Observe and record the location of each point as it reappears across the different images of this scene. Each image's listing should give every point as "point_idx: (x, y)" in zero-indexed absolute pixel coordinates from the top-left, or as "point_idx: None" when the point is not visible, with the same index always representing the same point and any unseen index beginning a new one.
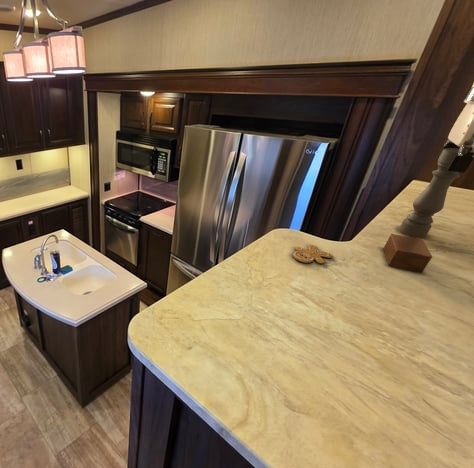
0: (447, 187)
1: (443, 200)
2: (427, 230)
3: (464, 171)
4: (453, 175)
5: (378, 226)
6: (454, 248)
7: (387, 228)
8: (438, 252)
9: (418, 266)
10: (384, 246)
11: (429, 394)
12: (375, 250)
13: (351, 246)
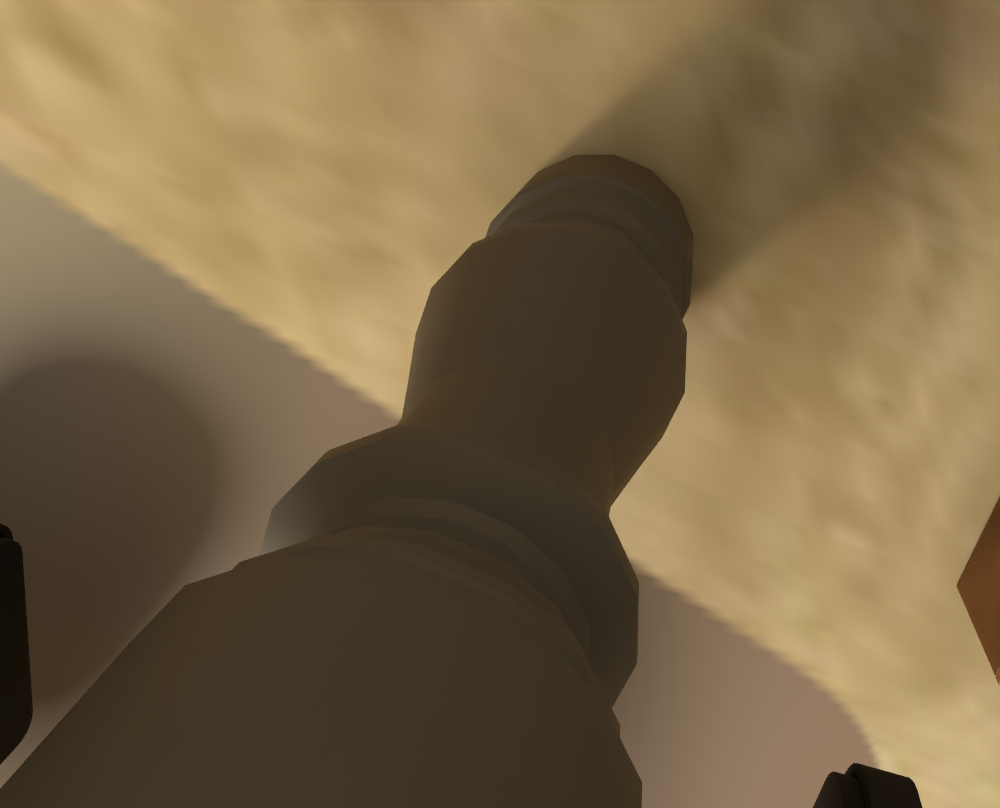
0: (592, 440)
1: (635, 333)
2: (676, 218)
3: (903, 791)
4: (625, 625)
5: None
6: (861, 21)
7: None
8: (966, 204)
9: None
10: (965, 601)
11: None
12: None
13: (949, 761)
